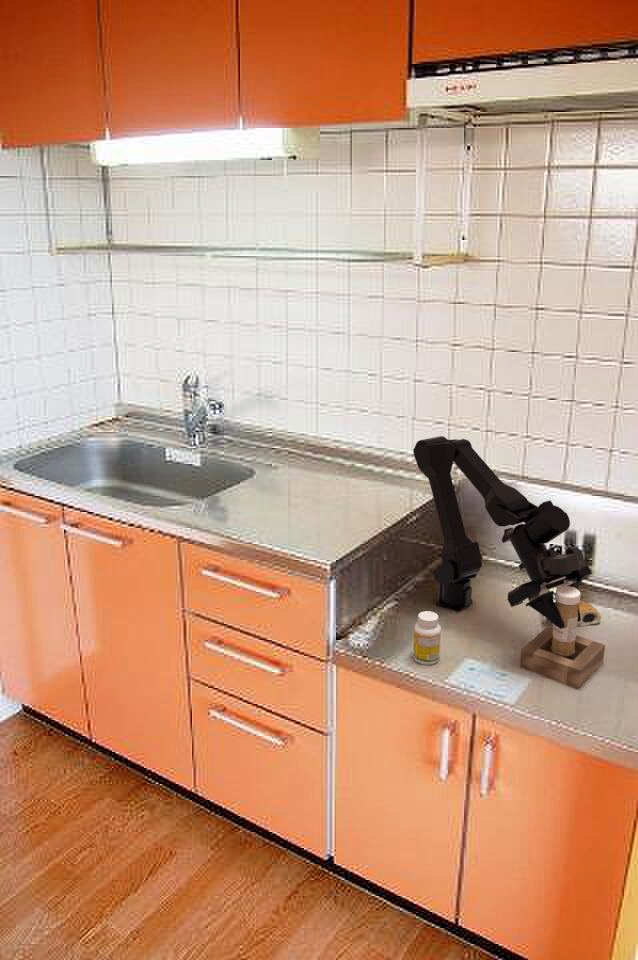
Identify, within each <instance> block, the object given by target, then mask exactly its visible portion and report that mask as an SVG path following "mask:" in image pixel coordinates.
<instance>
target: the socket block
mask: <svg viewBox="0 0 638 960" xmlns="http://www.w3.org/2000/svg"><path fill="white" fill-rule="evenodd" d="M552 640H553V626H549V625H547V626H546V627H545V628H544V629H542V630H541V632H539V633H538V634H537V635H536V636H534V638H532V639H531V640H530V641H529V642H528V643H527V644H526V645H525V646H523V647H522V648H521V649H520V650H521V651H520V661H519V662H520V663H519V668H521V669H524V670H527V671H529V672H531V673H533V674H534V673H535V674H537V675H540V676H542V677H545V678H548V679H550V680H552V681H553V680H554V681H556V682H559V683H562V684H565V685H566V686H569V687H571V688H574V689H577V690H579V689H580V688H581V687H582V686H583V685H584V684H585V683H586V682H587V681H588V679H590V678H591V676H592V675H593V674H594V673H595V672H596V671H597V670H598V668H599V667H600V666H602V664H603V663H604V657H605V649H606V645H605V644H603V643H601V642H598V641H594V640H590V639H589V638H586V637H583V636H579V635H577V634H576V639H575V647H574V649H575V653H574V654H573V655H570V656H559V655H557V654H555V653H553V651H552V650H551V646H552ZM566 657H567V658H566Z"/></svg>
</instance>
